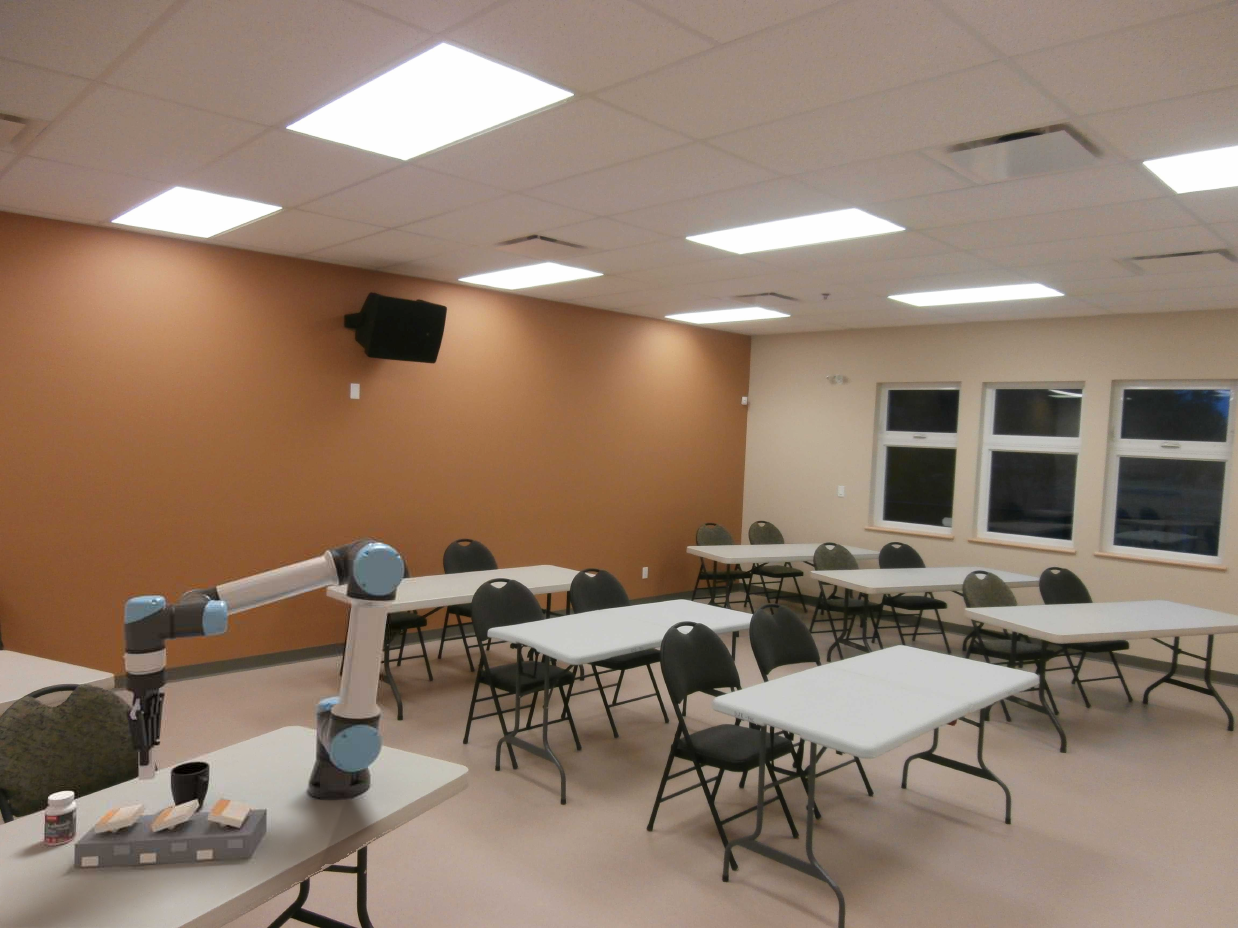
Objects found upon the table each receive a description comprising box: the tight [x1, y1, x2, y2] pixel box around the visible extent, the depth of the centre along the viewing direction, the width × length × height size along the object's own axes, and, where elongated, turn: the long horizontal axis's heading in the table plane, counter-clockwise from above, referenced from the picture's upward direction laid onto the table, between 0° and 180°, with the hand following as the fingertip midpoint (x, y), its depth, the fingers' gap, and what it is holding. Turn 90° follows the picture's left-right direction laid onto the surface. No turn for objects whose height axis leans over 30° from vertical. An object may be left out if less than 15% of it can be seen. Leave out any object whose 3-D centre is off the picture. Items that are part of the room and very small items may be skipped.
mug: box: [170, 761, 210, 811], centre depth 188 cm, size 8×12×10 cm
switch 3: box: [207, 797, 253, 828], centre depth 171 cm, size 7×7×2 cm
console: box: [73, 808, 268, 870], centre depth 169 cm, size 34×12×6 cm, turn 99°
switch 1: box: [93, 802, 146, 834], centre depth 167 cm, size 7×7×2 cm
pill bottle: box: [43, 790, 77, 847], centre depth 172 cm, size 6×6×10 cm
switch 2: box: [151, 799, 199, 832], centre depth 169 cm, size 7×7×2 cm
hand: (147, 777), depth 168 cm, fingers closed
